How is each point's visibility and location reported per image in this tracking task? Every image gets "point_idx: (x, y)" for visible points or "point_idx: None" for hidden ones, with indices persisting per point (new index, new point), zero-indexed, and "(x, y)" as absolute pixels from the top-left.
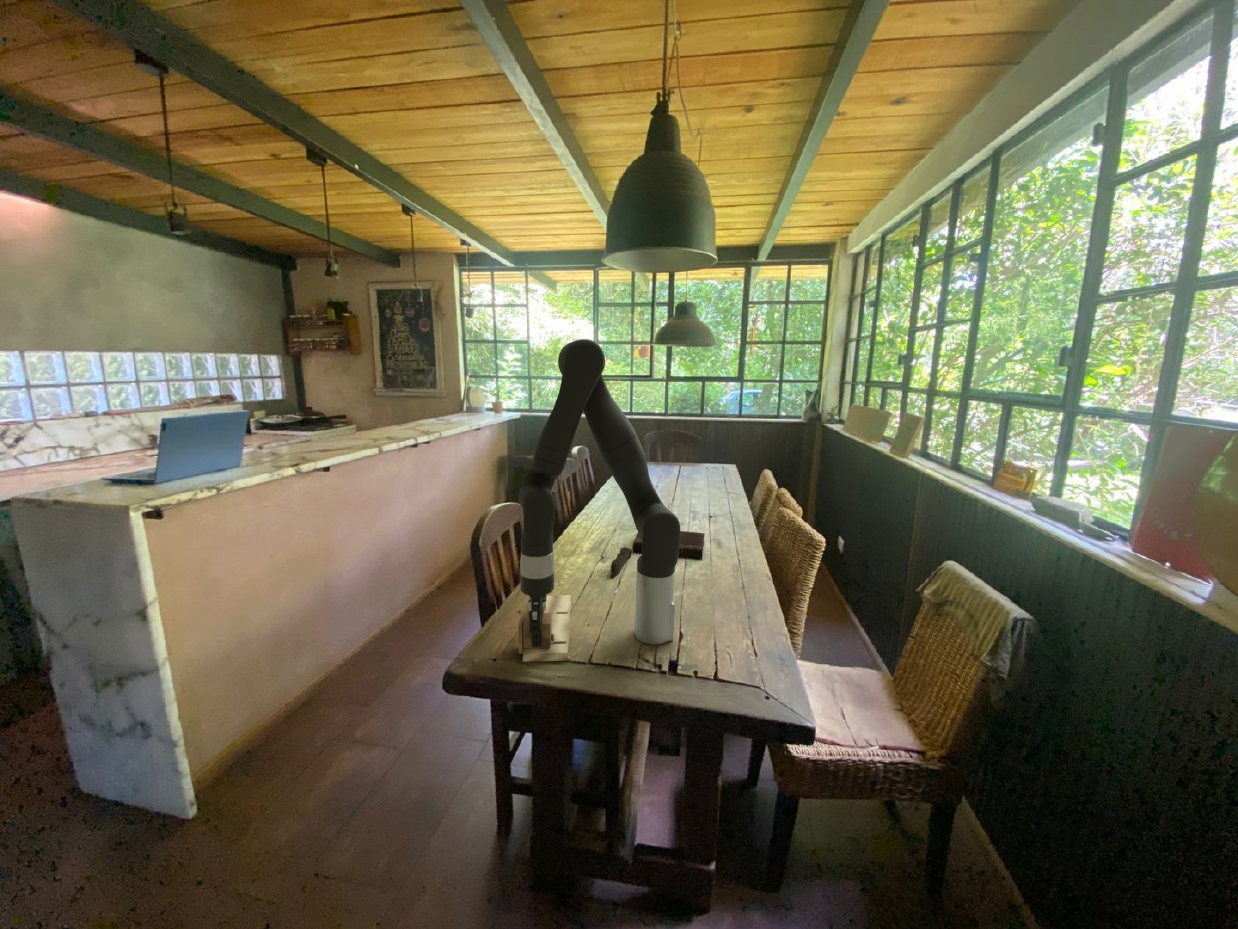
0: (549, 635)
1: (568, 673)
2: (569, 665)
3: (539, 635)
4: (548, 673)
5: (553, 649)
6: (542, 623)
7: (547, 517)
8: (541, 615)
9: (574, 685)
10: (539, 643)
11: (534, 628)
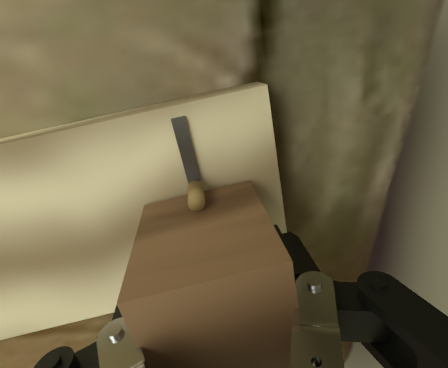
0: (266, 216)
1: (347, 53)
2: (290, 63)
3: (307, 266)
4: (346, 139)
5: (250, 162)
6: (292, 308)
7: None
8: (179, 348)
9: (430, 4)
10: (294, 238)
11: (393, 332)
